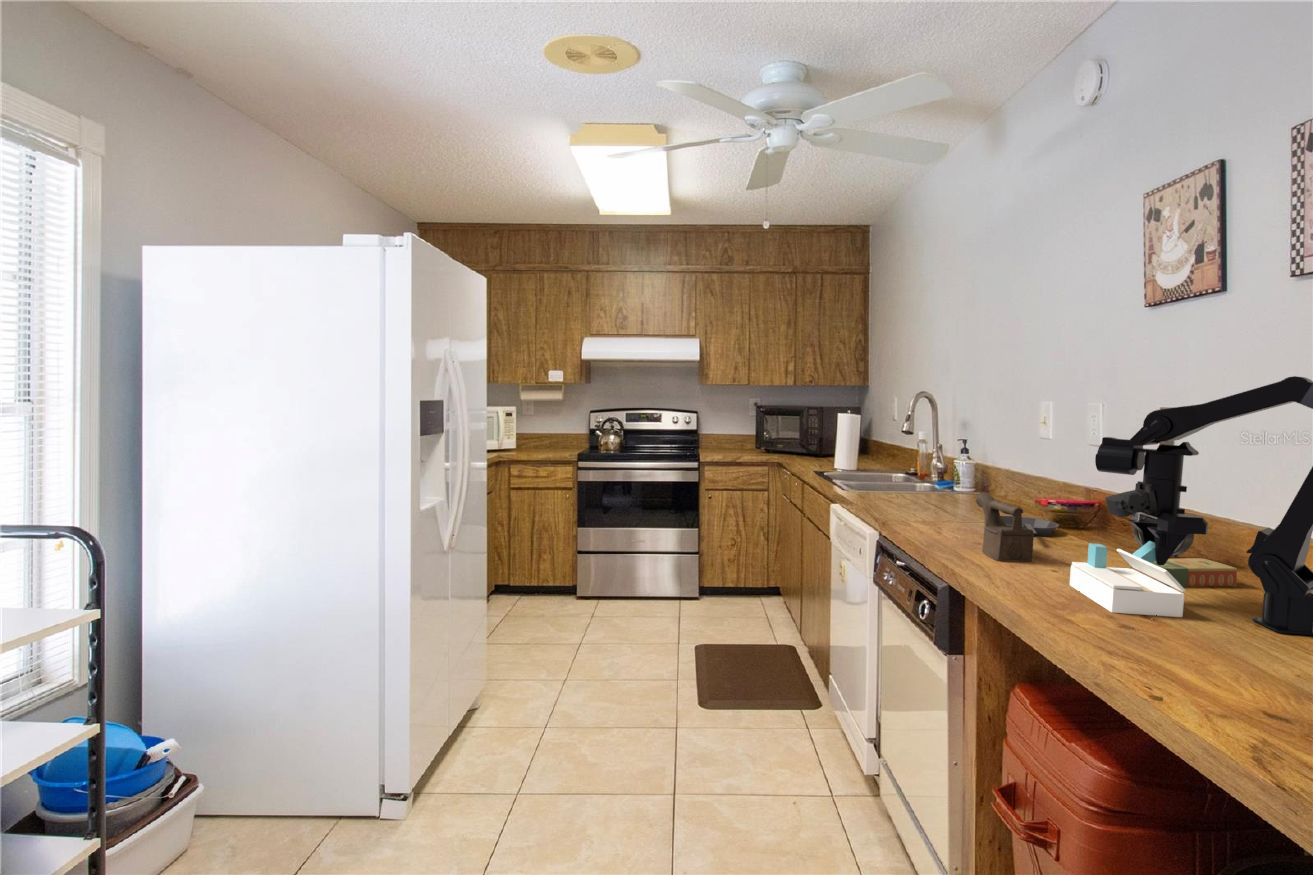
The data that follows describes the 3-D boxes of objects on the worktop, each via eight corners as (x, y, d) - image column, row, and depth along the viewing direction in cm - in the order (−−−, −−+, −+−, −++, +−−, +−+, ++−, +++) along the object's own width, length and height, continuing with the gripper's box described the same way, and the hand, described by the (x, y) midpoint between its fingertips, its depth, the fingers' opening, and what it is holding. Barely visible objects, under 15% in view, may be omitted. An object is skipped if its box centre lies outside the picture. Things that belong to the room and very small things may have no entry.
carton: (1236, 588, 138) (1238, 567, 138) (1160, 588, 137) (1162, 567, 137) (1201, 577, 147) (1203, 557, 146) (1129, 576, 145) (1130, 556, 145)
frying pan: (1053, 528, 196) (1054, 515, 196) (1075, 552, 166) (1076, 536, 166) (983, 522, 203) (984, 509, 202) (992, 544, 173) (993, 529, 173)
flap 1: (1071, 564, 136) (1073, 541, 136) (1096, 565, 135) (1098, 543, 135) (1113, 588, 119) (1115, 562, 119) (1142, 590, 119) (1144, 564, 118)
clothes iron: (997, 546, 170) (1001, 492, 169) (1034, 563, 154) (1038, 503, 153) (965, 546, 170) (968, 491, 169) (999, 562, 154) (1002, 502, 153)
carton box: (1182, 617, 118) (1184, 593, 118) (1111, 612, 120) (1113, 589, 119) (1130, 589, 135) (1132, 568, 134) (1069, 585, 136) (1070, 564, 136)
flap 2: (1183, 592, 118) (1205, 575, 117) (1164, 572, 118) (1186, 555, 117) (1132, 567, 134) (1152, 552, 133) (1116, 550, 134) (1135, 535, 134)
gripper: (1090, 470, 137) (1084, 548, 138) (1141, 482, 119) (1133, 572, 120) (1152, 473, 135) (1145, 552, 136) (1213, 486, 117) (1205, 577, 118)
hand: (1155, 562), depth 128 cm, fingers closed on flap 2, 3 cm apart
